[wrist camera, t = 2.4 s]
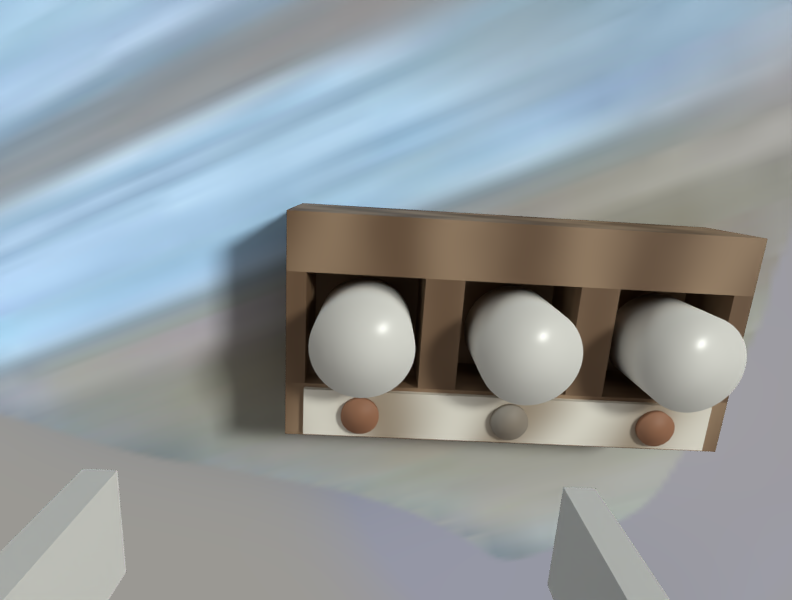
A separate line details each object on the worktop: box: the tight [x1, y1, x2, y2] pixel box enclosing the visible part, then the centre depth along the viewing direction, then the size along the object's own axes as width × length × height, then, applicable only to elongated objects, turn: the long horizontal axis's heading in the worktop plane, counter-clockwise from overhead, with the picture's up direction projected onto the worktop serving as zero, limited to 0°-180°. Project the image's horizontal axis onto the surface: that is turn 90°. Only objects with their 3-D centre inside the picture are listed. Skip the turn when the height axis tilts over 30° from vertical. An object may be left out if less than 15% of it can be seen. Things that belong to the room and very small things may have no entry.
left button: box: [308, 278, 415, 398], centre depth 26 cm, size 5×5×4 cm
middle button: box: [464, 286, 583, 405], centre depth 26 cm, size 5×5×4 cm
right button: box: [609, 294, 747, 413], centre depth 26 cm, size 5×5×4 cm
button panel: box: [285, 203, 767, 452], centre depth 28 cm, size 24×12×6 cm, turn 86°
